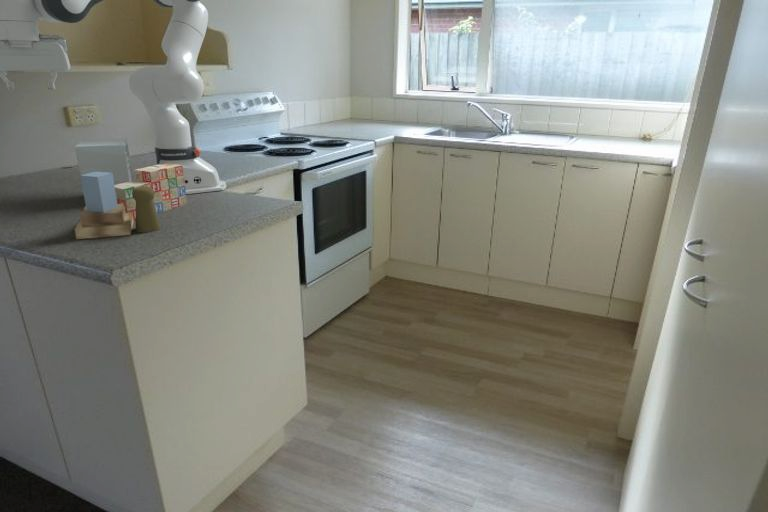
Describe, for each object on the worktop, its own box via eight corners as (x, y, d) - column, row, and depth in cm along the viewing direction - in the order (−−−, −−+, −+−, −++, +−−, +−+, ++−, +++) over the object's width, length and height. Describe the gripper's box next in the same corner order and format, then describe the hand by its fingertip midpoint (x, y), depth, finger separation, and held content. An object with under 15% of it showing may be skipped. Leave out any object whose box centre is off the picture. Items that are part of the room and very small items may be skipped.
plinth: (133, 221, 142) (130, 201, 140) (130, 234, 131) (127, 213, 129) (83, 225, 138) (79, 205, 136) (76, 239, 127) (72, 217, 125)
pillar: (101, 206, 135) (95, 171, 132) (118, 207, 134) (112, 172, 131) (86, 211, 131) (80, 175, 128) (103, 212, 130) (97, 176, 126)
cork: (132, 228, 136) (125, 186, 132) (155, 223, 140) (149, 183, 136) (141, 233, 132) (134, 191, 128) (164, 229, 136) (159, 187, 132)
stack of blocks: (128, 222, 141) (121, 177, 137) (112, 219, 144) (105, 175, 139) (187, 204, 159) (182, 164, 155) (172, 202, 162) (167, 162, 157)
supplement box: (135, 192, 172) (127, 138, 166) (133, 201, 161) (124, 144, 155) (90, 194, 168) (80, 139, 162) (85, 205, 156) (73, 146, 150)
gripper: (67, 35, 143) (76, 88, 148) (-22, 33, 136) (-9, 88, 141) (63, 34, 138) (73, 89, 143) (-31, 32, 131) (-17, 89, 136)
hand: (31, 89), depth 142 cm, fingers open, 8 cm apart
